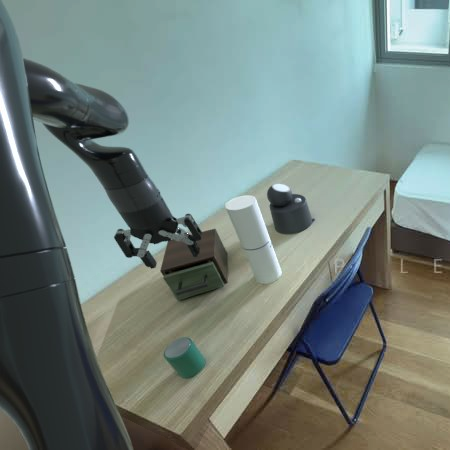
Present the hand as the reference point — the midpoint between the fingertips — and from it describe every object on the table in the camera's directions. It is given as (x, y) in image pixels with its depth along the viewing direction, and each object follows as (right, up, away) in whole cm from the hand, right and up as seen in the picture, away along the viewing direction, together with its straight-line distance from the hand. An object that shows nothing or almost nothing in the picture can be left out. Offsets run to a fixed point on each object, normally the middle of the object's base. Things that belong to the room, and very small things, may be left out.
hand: (176, 260), depth 71 cm
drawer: (-5, -8, +17) cm, 19 cm away
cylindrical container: (+13, -7, +20) cm, 25 cm away
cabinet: (-7, -6, +21) cm, 23 cm away
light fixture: (+13, +9, +42) cm, 45 cm away
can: (+6, -23, -3) cm, 24 cm away
